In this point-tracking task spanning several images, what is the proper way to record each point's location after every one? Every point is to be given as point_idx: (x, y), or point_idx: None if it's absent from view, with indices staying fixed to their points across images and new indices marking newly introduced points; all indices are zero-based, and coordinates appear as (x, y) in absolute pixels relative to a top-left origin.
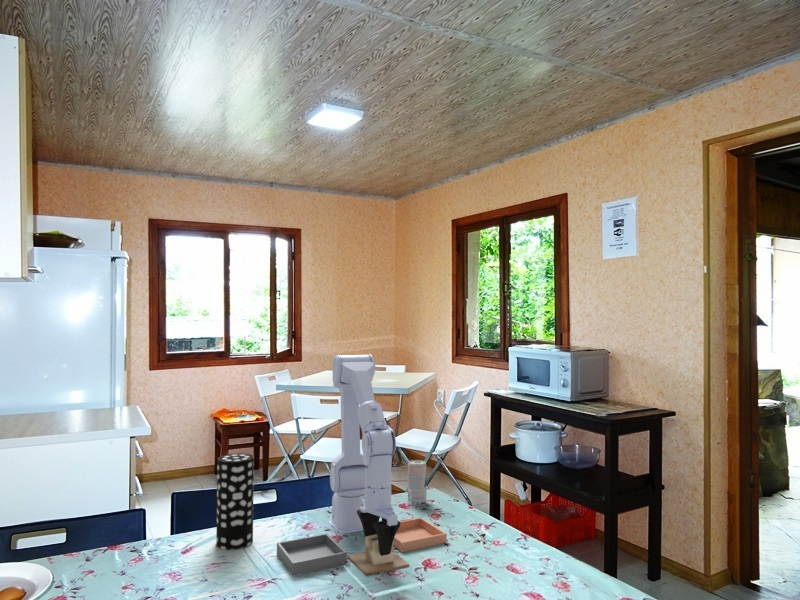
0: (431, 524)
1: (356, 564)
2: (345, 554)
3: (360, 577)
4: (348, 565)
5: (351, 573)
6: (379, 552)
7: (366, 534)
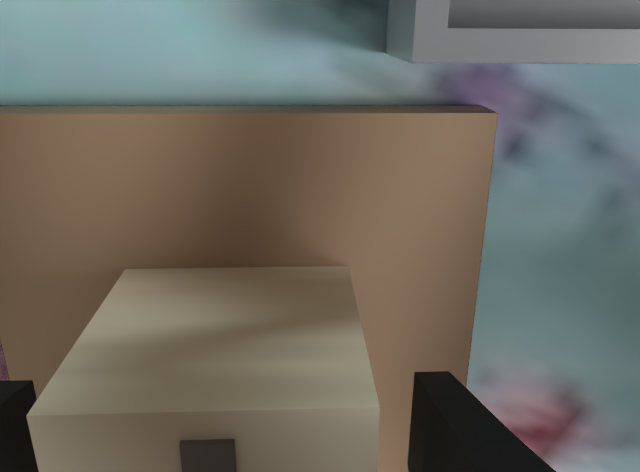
0: None
1: (231, 113)
2: (406, 40)
3: (30, 63)
4: (357, 63)
5: (158, 11)
6: (14, 390)
7: (454, 447)
